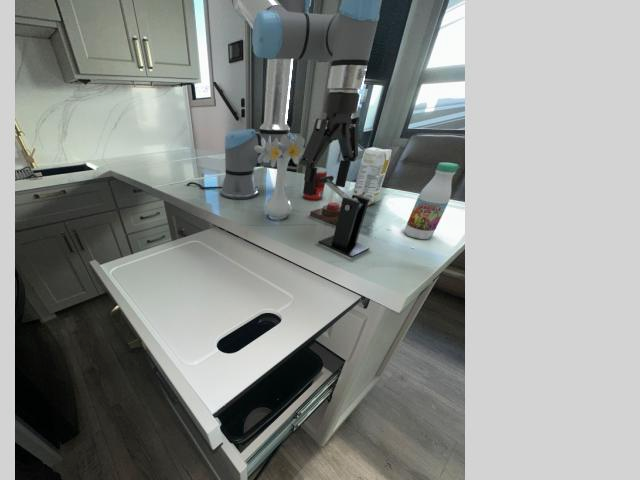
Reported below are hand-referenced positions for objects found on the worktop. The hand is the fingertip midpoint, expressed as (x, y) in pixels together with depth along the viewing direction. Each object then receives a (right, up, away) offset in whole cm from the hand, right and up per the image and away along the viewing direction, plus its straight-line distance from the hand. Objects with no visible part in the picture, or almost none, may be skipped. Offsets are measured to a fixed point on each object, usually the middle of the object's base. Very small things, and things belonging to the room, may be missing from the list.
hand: (324, 190), depth 73 cm
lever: (+3, -3, -3) cm, 5 cm away
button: (+8, +1, +17) cm, 19 cm away
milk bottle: (+32, -10, +10) cm, 35 cm away
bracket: (+6, -15, +2) cm, 17 cm away
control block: (+8, -2, +19) cm, 21 cm away
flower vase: (-11, -1, +21) cm, 24 cm away
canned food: (+7, +13, +39) cm, 41 cm away
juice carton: (+27, +9, +34) cm, 44 cm away
